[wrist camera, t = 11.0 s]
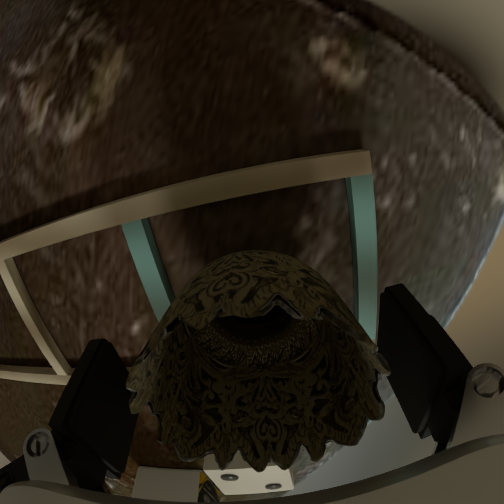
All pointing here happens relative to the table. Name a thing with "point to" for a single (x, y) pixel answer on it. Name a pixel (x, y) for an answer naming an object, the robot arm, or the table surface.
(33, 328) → the ladder
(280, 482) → the die
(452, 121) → the table surface
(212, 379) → the dark patterned vase
